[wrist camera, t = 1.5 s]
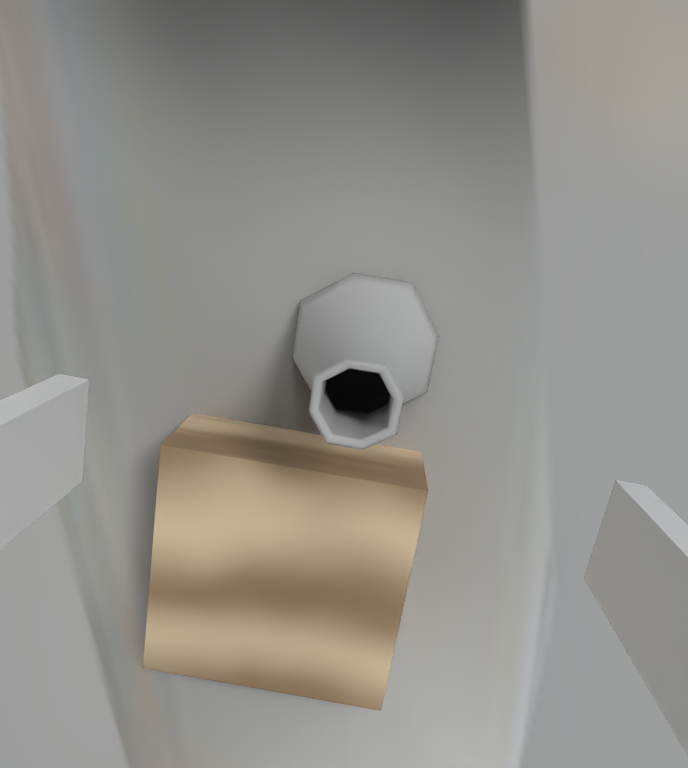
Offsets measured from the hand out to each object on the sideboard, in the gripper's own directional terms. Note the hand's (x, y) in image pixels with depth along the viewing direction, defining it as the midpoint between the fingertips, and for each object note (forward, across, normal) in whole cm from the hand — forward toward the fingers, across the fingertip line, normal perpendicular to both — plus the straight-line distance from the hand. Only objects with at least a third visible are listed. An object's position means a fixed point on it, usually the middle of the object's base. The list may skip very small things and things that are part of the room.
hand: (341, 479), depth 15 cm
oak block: (+16, -2, -11) cm, 19 cm away
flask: (+16, 0, 0) cm, 16 cm away
